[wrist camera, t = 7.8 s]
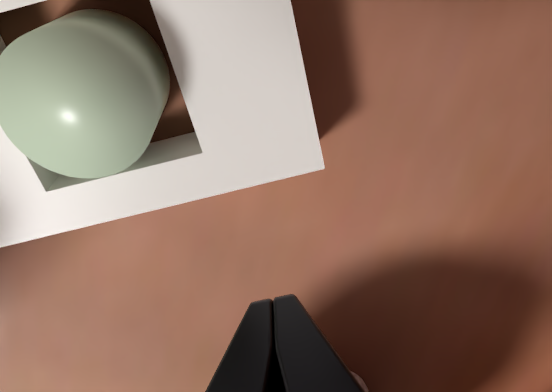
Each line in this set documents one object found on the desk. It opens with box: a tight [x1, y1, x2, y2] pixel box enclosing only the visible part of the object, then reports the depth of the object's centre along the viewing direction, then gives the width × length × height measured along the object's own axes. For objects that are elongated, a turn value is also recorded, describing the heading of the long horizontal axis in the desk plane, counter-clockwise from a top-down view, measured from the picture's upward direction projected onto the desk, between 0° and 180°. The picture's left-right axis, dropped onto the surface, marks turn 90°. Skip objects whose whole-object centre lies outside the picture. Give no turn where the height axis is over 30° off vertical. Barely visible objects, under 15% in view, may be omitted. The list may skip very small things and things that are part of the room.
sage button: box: [0, 9, 170, 179], centre depth 13 cm, size 4×4×3 cm
